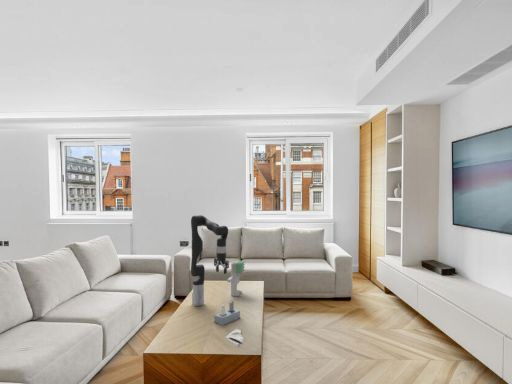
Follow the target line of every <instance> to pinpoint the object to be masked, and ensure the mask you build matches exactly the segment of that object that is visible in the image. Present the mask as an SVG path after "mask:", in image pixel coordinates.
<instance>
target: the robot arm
mask: <svg viewBox="0 0 512 384" xmlns="http://www.w3.org/2000/svg"><path fill="white" fill-rule="evenodd" d="M190 226H191V227H190V228H191V263H190V275H191V276H192V277H196V278H195V279H193V280H192V294H191V303H192V304H191V305H192V306H194V307H200V306H201V307H202V306H203V305H204V304H205V272H206V270H205V269H206V268H205V266H204V265H203V264H202V263H201V264H197V262H198V259H199V257H200V255H201V254H202V253H203V249H204V244H203V243H204V242H203V239H202V237H201V236H200V234H199V230H198V227H203V226H204V227H206V229H207V230H209V231H210V232H213V234H215V235H216V236H218V237H219V236H220V237H219V238H217V240H216V257H214V258H213V265H214V266H213V267H215V272H217V273H218V272H219V270H220V266H221V267H222V268H223V274H224V275H226V274H227V272H228V269H230V261H229V260H226V259H227V239H228V234H229V227H228V226H227V225H219V224H218V223H216V222H213V221H211V220H210V219H208V218H207V217H206V216H204V215H202V214H199V215H196V214H195V215H192V216H191V219H190Z"/></svg>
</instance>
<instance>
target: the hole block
mask: <svg viewBox="0 0 512 384" xmlns="http://www.w3.org/2000/svg"><path fill="white" fill-rule="evenodd" d="M213 317H214V318H213V322H214V323H216V324H219V325H220V326H221V325H222V326H224V325H227V324H229V323H231V322H233V321H235V320H237V319H240V318H241V311H240V310H239V309H236V308H234V312H232V313H231V312H229V308H228V309H225V316H221V311H220V312H218V313H215V314H214V315H213Z"/></svg>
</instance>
